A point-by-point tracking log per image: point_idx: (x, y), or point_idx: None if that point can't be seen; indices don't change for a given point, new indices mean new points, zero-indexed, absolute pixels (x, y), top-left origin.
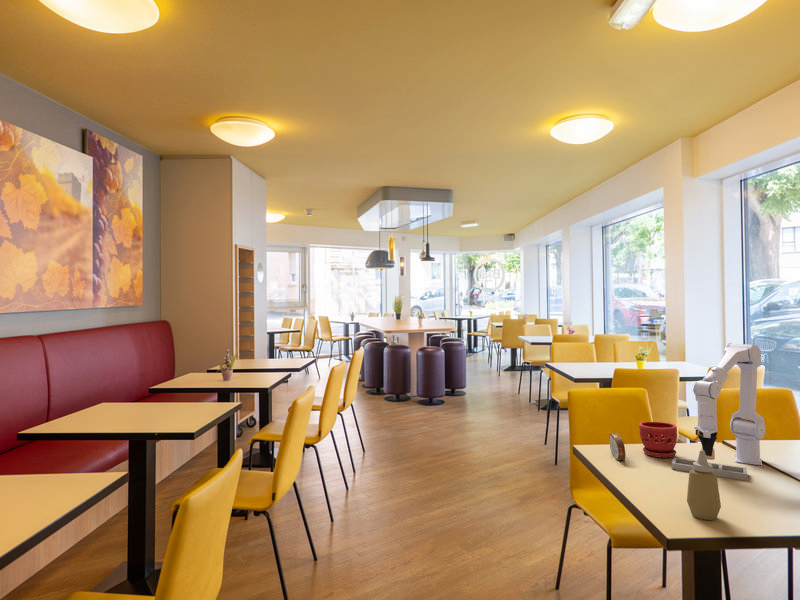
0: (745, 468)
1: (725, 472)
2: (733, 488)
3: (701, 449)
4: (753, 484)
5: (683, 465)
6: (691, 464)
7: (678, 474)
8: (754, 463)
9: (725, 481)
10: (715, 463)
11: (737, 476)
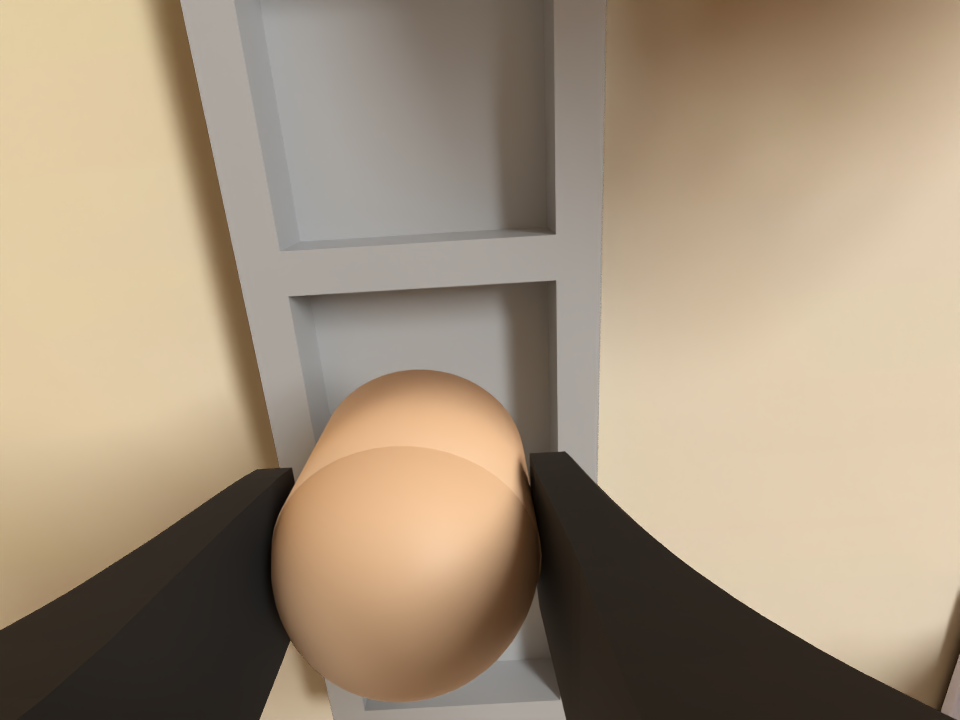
0: (558, 716)
1: None
2: (8, 603)
3: (345, 457)
4: (274, 709)
5: (204, 84)
6: (548, 170)
7: (10, 48)
8: (949, 714)
9: None
10: (591, 473)
11: None
